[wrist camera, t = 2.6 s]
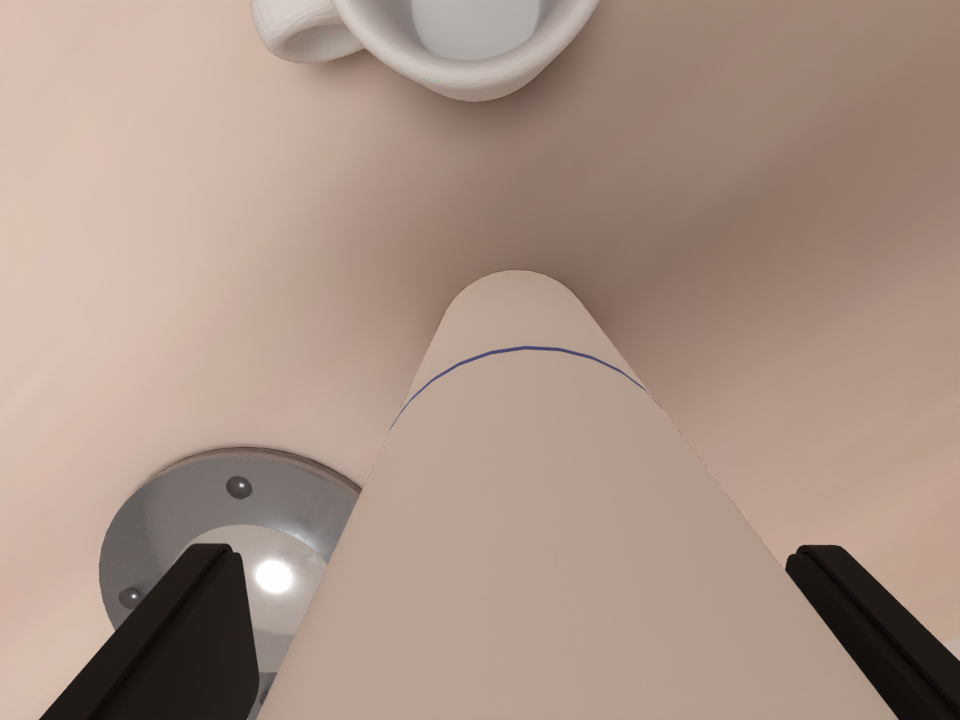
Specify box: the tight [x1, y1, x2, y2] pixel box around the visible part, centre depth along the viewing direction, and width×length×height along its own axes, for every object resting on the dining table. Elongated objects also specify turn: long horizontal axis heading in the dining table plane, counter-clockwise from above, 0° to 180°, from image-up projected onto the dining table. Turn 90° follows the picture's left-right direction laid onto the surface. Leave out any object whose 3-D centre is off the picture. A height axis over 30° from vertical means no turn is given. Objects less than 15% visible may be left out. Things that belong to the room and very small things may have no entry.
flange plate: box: [99, 447, 362, 720], centre depth 28 cm, size 16×16×1 cm
